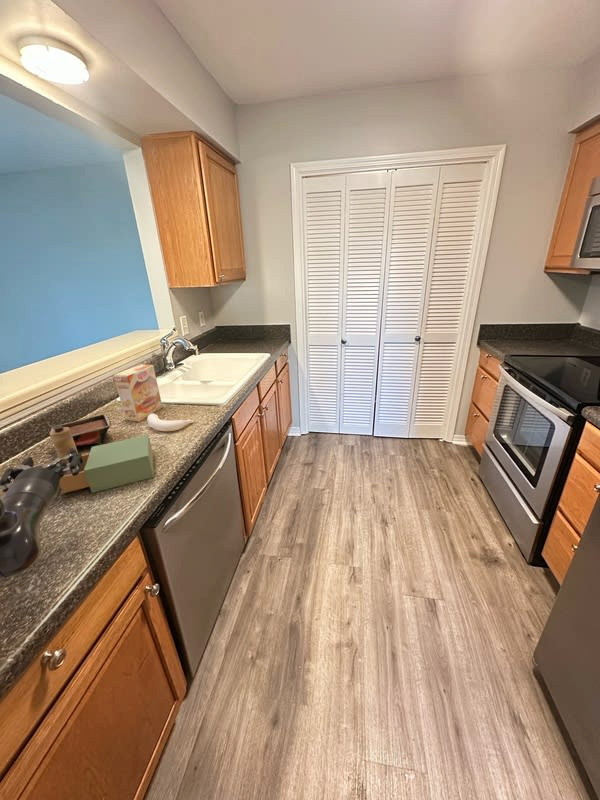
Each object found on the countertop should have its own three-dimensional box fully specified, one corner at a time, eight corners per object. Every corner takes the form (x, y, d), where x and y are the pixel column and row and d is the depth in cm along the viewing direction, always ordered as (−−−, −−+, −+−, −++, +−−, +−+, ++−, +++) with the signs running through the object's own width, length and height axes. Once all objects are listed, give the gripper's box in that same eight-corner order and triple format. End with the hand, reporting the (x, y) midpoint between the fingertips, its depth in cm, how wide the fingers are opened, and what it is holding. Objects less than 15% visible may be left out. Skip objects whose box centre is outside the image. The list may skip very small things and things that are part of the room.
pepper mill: (66, 483, 89) (46, 432, 83) (69, 475, 93) (50, 425, 87) (84, 479, 91) (66, 428, 85) (87, 471, 95) (69, 422, 89)
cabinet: (91, 493, 88) (83, 470, 86) (98, 467, 100) (91, 446, 97) (153, 477, 94) (148, 455, 91) (153, 454, 106) (148, 434, 103)
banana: (141, 422, 129) (177, 411, 138) (160, 440, 116) (198, 426, 125) (139, 411, 127) (175, 400, 136) (157, 428, 114) (196, 415, 123)
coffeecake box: (139, 421, 130) (127, 375, 122) (124, 420, 132) (112, 374, 124) (163, 407, 143) (154, 364, 135) (150, 405, 145) (140, 363, 137)
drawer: (33, 503, 84) (25, 486, 82) (46, 477, 95) (40, 461, 93) (113, 483, 90) (107, 467, 88) (116, 461, 101) (112, 446, 99)
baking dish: (113, 450, 114) (111, 423, 111) (50, 459, 104) (45, 430, 102) (111, 436, 125) (109, 412, 123) (54, 444, 116) (50, 417, 114)
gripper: (66, 469, 65) (81, 435, 79) (-23, 489, 60) (9, 449, 74) (78, 499, 68) (90, 461, 82) (-6, 521, 63) (22, 476, 77)
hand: (52, 455), depth 78 cm, fingers open, 8 cm apart
